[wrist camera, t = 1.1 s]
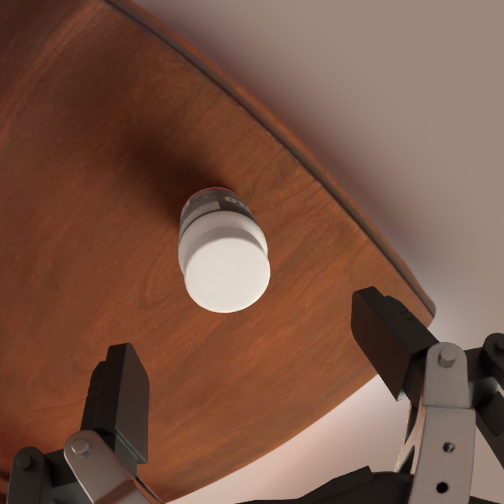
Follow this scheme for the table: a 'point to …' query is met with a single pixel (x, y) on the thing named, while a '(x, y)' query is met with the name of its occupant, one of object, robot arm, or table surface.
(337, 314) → the table surface
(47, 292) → the table surface
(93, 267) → the table surface
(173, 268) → the table surface
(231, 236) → the pill bottle
